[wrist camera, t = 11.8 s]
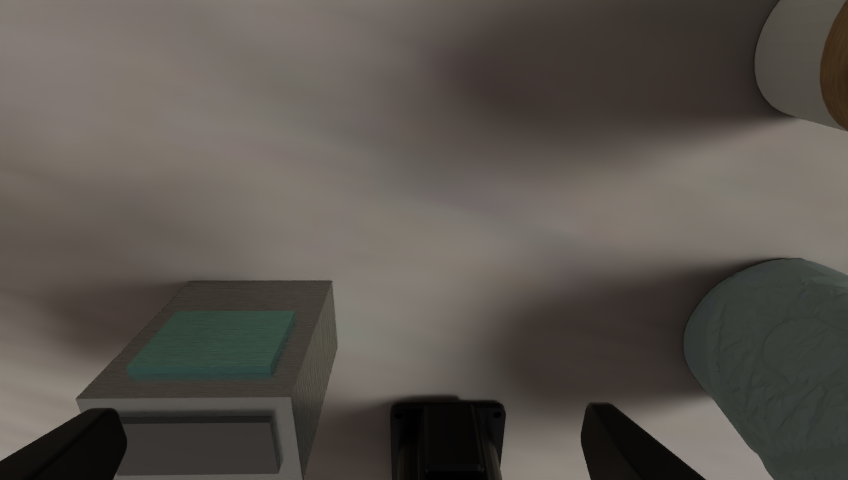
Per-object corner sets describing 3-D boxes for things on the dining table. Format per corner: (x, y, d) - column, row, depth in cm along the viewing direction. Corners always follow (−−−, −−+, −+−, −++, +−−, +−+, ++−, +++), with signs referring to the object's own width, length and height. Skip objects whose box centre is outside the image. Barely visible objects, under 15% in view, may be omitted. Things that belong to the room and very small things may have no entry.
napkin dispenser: (337, 347, 24) (300, 489, 16) (204, 347, 23) (103, 491, 16) (331, 275, 22) (287, 396, 14) (188, 275, 22) (66, 398, 14)
